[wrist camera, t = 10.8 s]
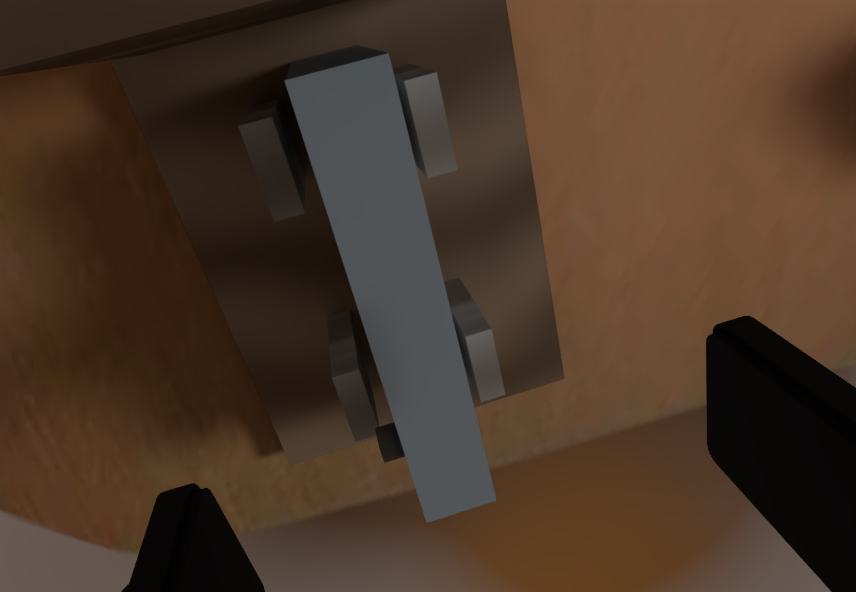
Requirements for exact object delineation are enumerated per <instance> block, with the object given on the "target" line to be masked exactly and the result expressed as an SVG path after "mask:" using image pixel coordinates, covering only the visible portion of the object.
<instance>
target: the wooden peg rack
mask: <svg viewBox="0 0 856 592" xmlns="http://www.w3.org/2000/svg"><path fill="white" fill-rule="evenodd" d="M354 45H360V46H363V47H367V48H371V49H375V50H379V51H383V52H387V53H389V56H390V60H391V65H392V69H393V73H394V77H395V81H396V85H397V89H398V94H399V98H400V102H401V106H402V110H403V114H404V118H405V123H406V127H407V131H408V135H409V139H410V143H411V148H412V152H413V156H414V160H415V164H416V168H417V172H418V177H419V181H420V185H421V189H422V193H423V197H424V201H425V206H426V210H427V214H428V218H429V222H430V226H431V231H432V235H433V239H434V243H435V247H436V251H437V255H438V260H439V264H440V268H441V272H442V276H443V280H444V284H445V289H446V293H447V297H448V301H449V305H450V309H451V313H452V318H453V322H454V326H455V330H456V334H457V338H458V343H459V347H460V351H461V355H462V359H463V363H464V367H465V372H466V376H467V380H468V384H469V388H470V392H471V396H472V401H473V405H474V407H476V406H479V405H483V404H486V403H489V402H492V401H495V400H498V399H502V398H505V397H508V396H511V395H514V394H517V393H521V392H524V391H527V390H530V389H533V388H536V387H540V386H543V385H546V384H549V383H552V382H555V381H558V380H562V379H564V373H563V367H562V360H561V354H560V347H559V341H558V334H557V328H556V321H555V315H554V308H553V302H552V296H551V289H550V283H549V276H548V270H547V263H546V257H545V250H544V244H543V238H542V231H541V225H540V218H539V212H538V205H537V199H536V192H535V186H534V179H533V173H532V167H531V160H530V154H529V147H528V141H527V134H526V128H525V121H524V115H523V109H522V102H521V96H520V89H519V83H518V76H517V70H516V63H515V57H514V50H513V44H512V38H511V31H510V25H509V18H508V12H507V5H506V0H0V76H3V75H10V74H17V73H24V72H31V71H37V70H44V69H51V68H58V67H65V66H72V65H78V64H85V63H92V62H99V61H106V60H110V62H111V64H112V66H113V68H114V71H115V73H116V75H117V77H118V80H119V82H120V84H121V86H122V88H123V91H124V93H125V95H126V97H127V100H128V102H129V104H130V106H131V109H132V111H133V113H134V115H135V118H136V120H137V122H138V124H139V127H140V129H141V131H142V133H143V136H144V138H145V140H146V142H147V144H148V147H149V149H150V151H151V153H152V156H153V158H154V160H155V162H156V165H157V167H158V169H159V171H160V174H161V176H162V178H163V180H164V183H165V185H166V187H167V189H168V192H169V194H170V196H171V198H172V200H173V203H174V205H175V207H176V209H177V212H178V214H179V216H180V218H181V221H182V223H183V225H184V227H185V230H186V232H187V234H188V236H189V239H190V241H191V243H192V245H193V248H194V250H195V252H196V254H197V256H198V259H199V261H200V263H201V265H202V268H203V270H204V272H205V274H206V277H207V279H208V281H209V283H210V286H211V288H212V290H213V292H214V295H215V297H216V299H217V301H218V304H219V306H220V308H221V310H222V312H223V315H224V317H225V319H226V321H227V324H228V326H229V328H230V330H231V333H232V335H233V337H234V339H235V342H236V344H237V346H238V348H239V351H240V353H241V355H242V357H243V360H244V362H245V364H246V366H247V368H248V371H249V373H250V375H251V377H252V380H253V382H254V384H255V386H256V389H257V391H258V393H259V395H260V398H261V400H262V402H263V404H264V407H265V409H266V411H267V413H268V416H269V418H270V420H271V422H272V424H273V427H274V429H275V431H276V433H277V436H278V438H279V440H280V442H281V445H282V447H283V449H284V451H285V454H286V456H287V458H288V460H289V463H290V465H293V464H296V463H299V462H302V461H305V460H309V459H312V458H315V457H318V456H321V455H324V454H328V453H331V452H334V451H337V450H340V449H343V448H346V447H350V446H353V445H356V444H359V443H362V442H365V441H369V440H372V439H375V438H377V436H376V431H375V428H377V427H380V426H383V425H386V424H390V423H393V422H394V419H393V416H392V413H391V410H390V407H389V404H388V401H387V398H386V395H385V391H384V388H383V385H382V382H381V379H380V376H379V373H378V370H377V367H376V363H375V360H374V357H373V354H372V351H371V348H370V345H369V342H368V339H367V335H366V332H365V329H364V326H363V323H362V320H361V317H360V314H359V311H358V308H357V304H356V301H355V298H354V295H353V292H352V289H351V286H350V283H349V280H348V276H347V273H346V270H345V267H344V264H343V261H342V258H341V255H340V252H339V248H338V245H337V242H336V239H335V236H334V233H333V230H332V227H331V224H330V220H329V217H328V214H327V211H326V208H325V205H324V202H323V199H322V196H321V193H320V189H319V186H318V183H317V180H316V177H315V174H314V171H313V168H312V165H311V161H310V158H309V155H308V152H307V149H306V146H305V143H304V140H303V137H302V133H301V130H300V127H299V124H298V121H297V118H296V115H295V112H294V109H293V106H292V102H291V99H290V96H289V93H288V90H287V87H286V84H285V81H284V80H285V78H286V76H287V73H288V71H289V68H290V66H291V64H292V62H293V61H297V60H301V59H304V58H308V57H312V56H316V55H320V54H324V53H327V52H331V51H335V50H339V49H343V48H346V47H350V46H354Z"/></svg>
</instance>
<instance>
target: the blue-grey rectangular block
mask: <svg viewBox="0 0 856 592" xmlns="http://www.w3.org/2000/svg"><path fill="white" fill-rule="evenodd" d="M284 81H285V84H286V87H287V90H288V93H289V96H290V99H291V102H292V106H293V109H294V112H295V115H296V118H297V121H298V124H299V127H300V130H301V133H302V137H303V140H304V143H305V146H306V149H307V152H308V155H309V158H310V161H311V165H312V168H313V171H314V174H315V177H316V180H317V183H318V186H319V189H320V193H321V196H322V199H323V202H324V205H325V208H326V211H327V214H328V217H329V220H330V224H331V227H332V230H333V233H334V236H335V239H336V242H337V245H338V248H339V252H340V255H341V258H342V261H343V264H344V267H345V270H346V273H347V276H348V280H349V283H350V286H351V289H352V292H353V295H354V298H355V301H356V304H357V308H358V311H359V314H360V317H361V320H362V323H363V326H364V329H365V332H366V335H367V339H368V342H369V345H370V348H371V351H372V354H373V357H374V360H375V363H376V367H377V370H378V373H379V376H380V379H381V382H382V385H383V388H384V391H385V395H386V398H387V401H388V404H389V407H390V410H391V413H392V416H393V419H394V422H393V423H390V424H386V425H383V426H380V427H377V428H375V431H376V436H377V440H378V444H379V448H380V451H381V454H382V457H383V460H384V462H389V461H392V460H395V459H398V458H401V457H404V456H405V457H406V460H407V463H408V466H409V469H410V472H411V475H412V478H413V482H414V485H415V488H416V491H417V494H418V497H419V500H420V503H421V506H422V509H423V512H424V515H425V518H426V522H427V523H428V522H431V521H434V520H437V519H440V518H443V517H446V516H449V515H453V514H456V513H458V512H462V511H465V510H468V509H471V508H474V507H477V506H480V505H483V504H486V503H489V502H492V501H495V500H496V496H495V492H494V488H493V484H492V480H491V475H490V471H489V467H488V463H487V459H486V455H485V450H484V446H483V442H482V438H481V434H480V430H479V426H478V421H477V417H476V413H475V409H474V405H473V401H472V396H471V392H470V388H469V384H468V380H467V376H466V372H465V367H464V363H463V359H462V355H461V351H460V347H459V343H458V338H457V334H456V330H455V326H454V322H453V318H452V313H451V309H450V305H449V301H448V297H447V293H446V289H445V284H444V280H443V276H442V272H441V268H440V264H439V260H438V255H437V251H436V247H435V243H434V239H433V235H432V231H431V226H430V222H429V218H428V214H427V210H426V206H425V201H424V197H423V193H422V189H421V185H420V181H419V177H418V172H417V168H416V164H415V160H414V156H413V152H412V148H411V143H410V139H409V135H408V131H407V127H406V123H405V118H404V114H403V110H402V106H401V102H400V98H399V94H398V89H397V85H396V81H395V77H394V73H393V69H392V65H391V60H390V56H389V53H387V52H383V51H379V50H375V49H371V48H367V47H363V46H360V45H354V46H350V47H346V48H343V49H339V50H335V51H331V52H327V53H324V54H320V55H316V56H312V57H308V58H304V59H301V60H297V61H293V62H292V64H291V66H290V68H289V71H288V73H287V76H286V78H285V80H284Z"/></svg>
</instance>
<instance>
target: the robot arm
mask: <svg viewBox="0 0 856 592" xmlns="http://www.w3.org/2000/svg"><path fill="white" fill-rule="evenodd" d="M706 381H707V446H708V450H709V452H710V455H711V457H712V458H713V460H714V461H715V463H716V464H717V465H718V466H719V467H720V468H721V470H722V471H723V472H724V473H725V474H726V475H727V476H728V477H729V478H730V479H731V481H732V482H733V483H734V484H735V485H736V486H737V487H738V488H739V489H740V491H741V492H742V493H743V494H744V495H745V496H746V497H747V498H748V499H749V501H751V503H752V504H753V505H754V506H755V507H756V508H757V509H758V510H759V512H760V513H761V514H762V515H763V516H764V517H765V518H766V519H767V520H768V522H769V523H770V524H771V525H772V526H773V527H774V528H775V529H776V530H777V532H778V533H779V534H780V535H781V536H782V537H783V538H784V539H785V541H786V542H787V543H788V544H789V545H790V546H791V547H792V548H793V549H794V551H796V553H797V554H798V555H799V556H800V557H801V558H802V559H803V561H804V562H806V564H807V565H808V566H809V567H810V568H811V569H812V570H813V571H814V573H815V574H816V575H817V576H818V577H819V578H820V579H821V580H822V582H823V583H824V584H825V585H826V586H827V587H828V588H829V589H830V590H831V592H856V388H855V387H854V386H852V385H851V384H849V383H847V382H846V381H845V380H843V379H842V378H841V377H839V376H838V375H836V374H835V373H833V372H832V371H830V370H829V369H827V368H826V367H824V366H823V365H822V364H820V363H819V362H817V361H816V360H814V359H813V358H811V357H810V356H808V355H807V354H806V353H804V352H803V351H801V350H800V349H798V348H797V347H795V346H794V345H792V344H791V343H789V342H788V341H787V340H785V339H784V338H782V337H781V336H779V335H778V334H776V333H775V332H773V331H772V330H771V329H769V328H768V327H766V326H765V325H763V324H762V323H760V322H759V321H757V320H756V319H754V318H753V317H750V316H743V317H739V318H736V319H733V320H729V321H726V322H723V323H720V324H717V325H716V326H715V327H714V329H713V334H711V335H709V336H708V337H707V340H706ZM122 592H265V590H264V586H263V584H262V582H261V580H260V578H259V577H258V575H257V573H256V571H255V569H254V567H253V566H252V564H251V562H250V560H249V559H248V557H247V555H246V553H245V551H244V549H243V548H242V546H241V544H240V542H239V540H238V539H237V537H236V535H235V533H234V531H233V530H232V528H231V526H230V524H229V522H228V521H227V519H226V517H225V515H224V513H223V512H222V510H221V508H220V506H219V504H218V503H217V501H216V499H215V497H214V495H213V494H212V492H211V491H210V489H208V488H204V489H200V488H199V486H198V485H196V484H195V483H191V484H188V485H185V486H181V487H178V488H175V489H172V490H168V491H165V492H162V493H160V494H159V495H158V497H157V499H156V502H155V505H154V508H153V511H152V514H151V517H150V521H149V524H148V527H147V530H146V533H145V536H144V539H143V542H142V545H141V549H140V552H139V555H138V558H137V561H136V564H135V567H134V570H133V574H132V577H131V580H130V583H129V584H128V585H127V586H126V587H125V588H124V589H123V590H122Z"/></svg>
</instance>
